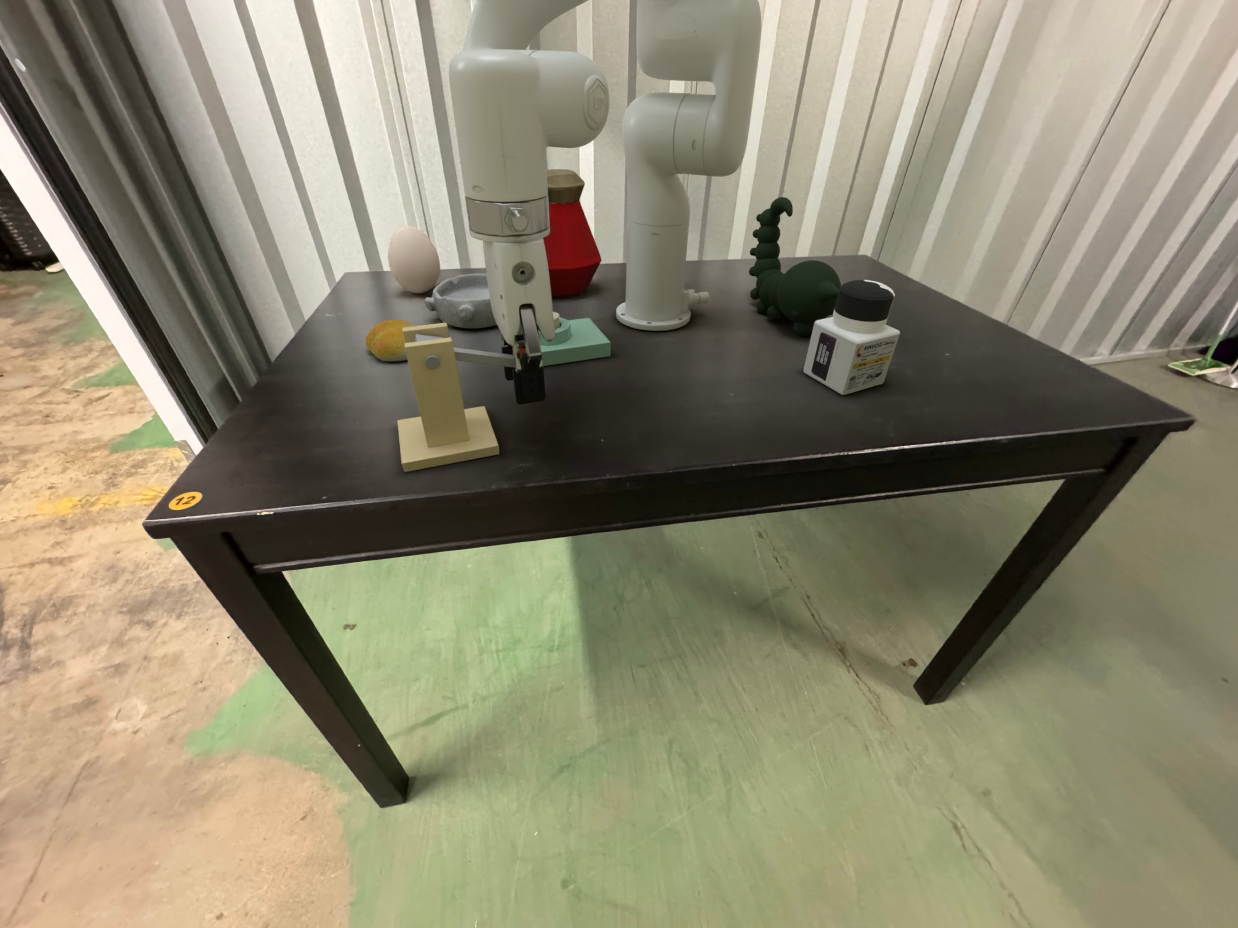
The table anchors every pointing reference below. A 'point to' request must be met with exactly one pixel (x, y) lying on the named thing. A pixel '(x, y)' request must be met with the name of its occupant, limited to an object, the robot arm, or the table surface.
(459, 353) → the lever
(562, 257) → the bottle
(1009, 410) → the table surface
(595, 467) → the table surface
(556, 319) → the button
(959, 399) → the table surface
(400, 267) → the egg
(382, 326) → the bread roll
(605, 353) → the button panel
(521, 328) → the robot arm
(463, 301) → the dish
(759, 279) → the segmented green worm
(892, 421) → the table surface
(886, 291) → the container
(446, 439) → the bracket
